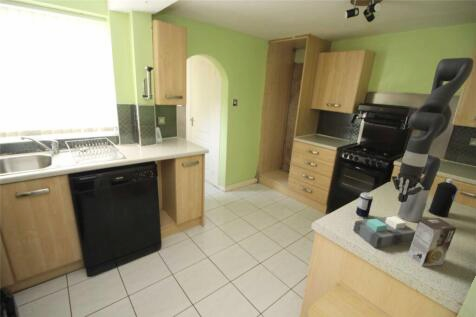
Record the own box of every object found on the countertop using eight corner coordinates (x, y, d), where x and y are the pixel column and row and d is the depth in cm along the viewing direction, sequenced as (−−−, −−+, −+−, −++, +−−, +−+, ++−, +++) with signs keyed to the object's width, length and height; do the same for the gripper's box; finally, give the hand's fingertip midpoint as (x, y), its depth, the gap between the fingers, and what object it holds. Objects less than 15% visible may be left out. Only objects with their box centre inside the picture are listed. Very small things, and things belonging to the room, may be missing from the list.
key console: (388, 225, 107) (391, 216, 105) (413, 241, 96) (416, 231, 94) (353, 230, 101) (355, 221, 100) (375, 248, 90) (378, 237, 89)
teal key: (374, 227, 99) (376, 218, 98) (384, 234, 95) (386, 225, 93) (365, 228, 98) (367, 219, 97) (374, 235, 93) (377, 226, 92)
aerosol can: (431, 215, 119) (443, 180, 113) (425, 208, 126) (437, 175, 120) (450, 219, 116) (464, 183, 110) (444, 211, 123) (456, 177, 117)
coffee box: (426, 253, 89) (439, 217, 85) (442, 265, 83) (457, 227, 79) (406, 254, 88) (418, 218, 83) (422, 267, 82) (436, 228, 77)
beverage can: (369, 219, 111) (375, 197, 108) (357, 217, 112) (362, 196, 109) (365, 213, 116) (371, 192, 113) (354, 212, 117) (359, 191, 114)
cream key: (392, 224, 102) (395, 216, 101) (403, 231, 98) (405, 222, 96) (384, 226, 101) (386, 217, 99) (394, 232, 96) (396, 223, 95)
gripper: (438, 168, 85) (424, 208, 90) (404, 157, 97) (394, 194, 102) (423, 168, 83) (410, 210, 88) (391, 158, 95) (381, 195, 100)
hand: (401, 201), depth 95 cm, fingers closed
